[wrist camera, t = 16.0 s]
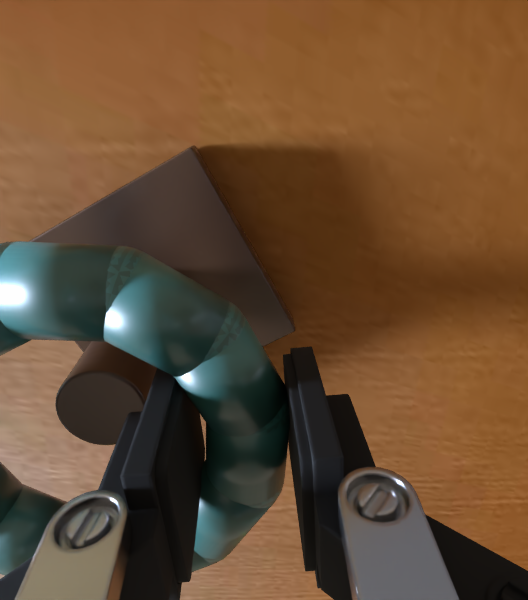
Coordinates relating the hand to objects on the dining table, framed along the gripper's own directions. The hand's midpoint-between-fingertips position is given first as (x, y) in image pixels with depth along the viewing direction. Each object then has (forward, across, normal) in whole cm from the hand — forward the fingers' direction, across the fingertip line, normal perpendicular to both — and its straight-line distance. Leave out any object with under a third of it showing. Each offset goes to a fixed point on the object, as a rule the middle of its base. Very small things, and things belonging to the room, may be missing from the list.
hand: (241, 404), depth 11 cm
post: (+9, +4, 0) cm, 10 cm away
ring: (-1, +4, 0) cm, 4 cm away
